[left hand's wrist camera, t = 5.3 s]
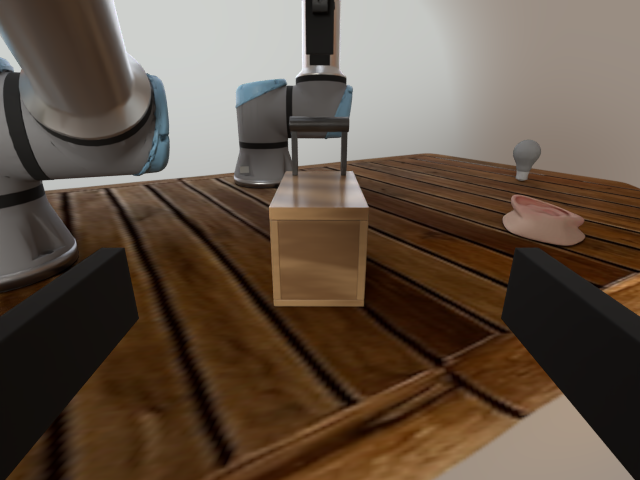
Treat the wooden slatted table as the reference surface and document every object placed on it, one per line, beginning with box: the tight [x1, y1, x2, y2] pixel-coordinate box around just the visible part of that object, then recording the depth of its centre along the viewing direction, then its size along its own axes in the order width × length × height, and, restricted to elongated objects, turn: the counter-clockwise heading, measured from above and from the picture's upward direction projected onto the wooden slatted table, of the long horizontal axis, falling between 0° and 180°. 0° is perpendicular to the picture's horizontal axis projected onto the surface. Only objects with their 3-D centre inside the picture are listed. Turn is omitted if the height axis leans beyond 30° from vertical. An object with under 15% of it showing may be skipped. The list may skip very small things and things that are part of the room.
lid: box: [269, 117, 369, 220], centre depth 41 cm, size 18×9×8 cm, turn 0°
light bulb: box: [513, 140, 541, 181], centre depth 92 cm, size 6×6×10 cm
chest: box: [270, 220, 368, 306], centre depth 44 cm, size 17×9×9 cm, turn 0°
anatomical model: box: [503, 195, 585, 246], centre depth 58 cm, size 13×4×12 cm
